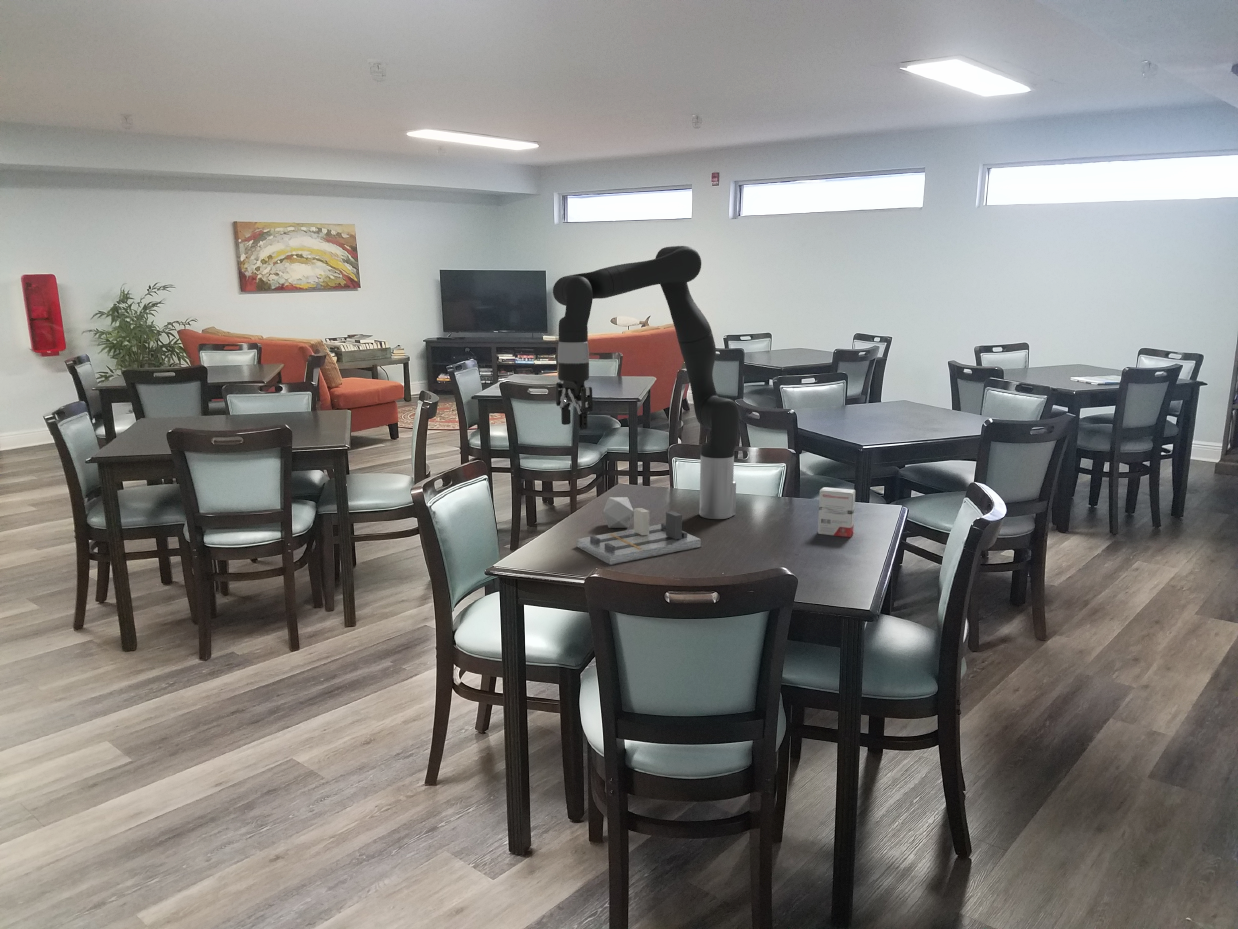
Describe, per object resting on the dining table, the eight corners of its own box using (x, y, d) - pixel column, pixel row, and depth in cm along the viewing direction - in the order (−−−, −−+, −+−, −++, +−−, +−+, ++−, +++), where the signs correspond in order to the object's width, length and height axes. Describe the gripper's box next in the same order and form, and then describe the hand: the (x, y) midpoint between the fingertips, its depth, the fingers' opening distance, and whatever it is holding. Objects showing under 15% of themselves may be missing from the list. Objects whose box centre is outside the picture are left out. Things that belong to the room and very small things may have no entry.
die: (622, 535, 220) (642, 504, 221) (594, 518, 220) (614, 487, 222) (622, 537, 228) (640, 507, 229) (595, 520, 228) (613, 490, 230)
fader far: (640, 530, 214) (640, 507, 213) (649, 534, 211) (649, 511, 210) (633, 531, 213) (633, 508, 212) (642, 535, 210) (642, 512, 208)
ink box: (854, 533, 220) (856, 489, 217) (850, 538, 215) (853, 493, 213) (820, 529, 223) (823, 485, 221) (816, 533, 219) (819, 489, 216)
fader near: (672, 534, 211) (672, 511, 210) (681, 538, 207) (682, 514, 206) (665, 535, 210) (666, 512, 209) (675, 539, 206) (675, 515, 205)
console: (664, 530, 221) (664, 519, 221) (700, 546, 208) (701, 534, 207) (577, 546, 208) (577, 534, 207) (610, 564, 195) (610, 551, 194)
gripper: (601, 362, 199) (602, 429, 203) (572, 357, 211) (573, 421, 215) (574, 363, 196) (574, 432, 199) (546, 359, 207) (547, 424, 211)
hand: (574, 426), depth 207 cm, fingers open, 8 cm apart
